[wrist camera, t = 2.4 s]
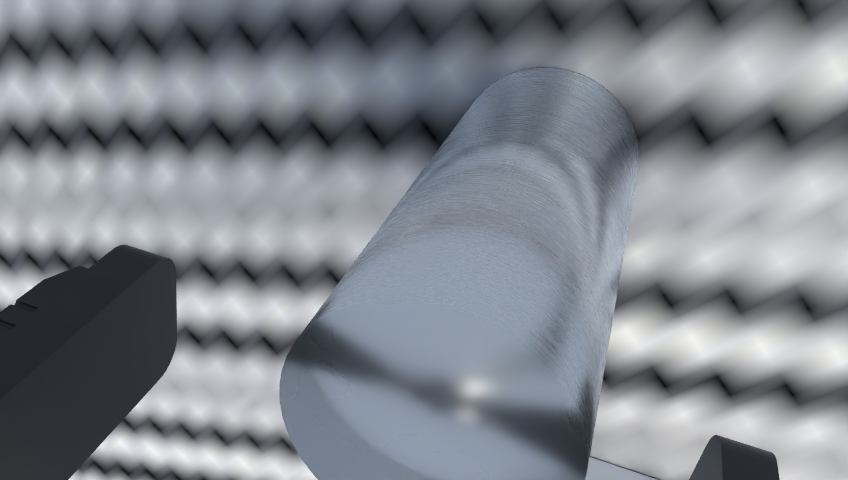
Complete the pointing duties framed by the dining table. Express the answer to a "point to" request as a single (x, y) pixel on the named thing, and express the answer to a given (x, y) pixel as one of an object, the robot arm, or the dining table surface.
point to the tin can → (478, 300)
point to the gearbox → (611, 472)
